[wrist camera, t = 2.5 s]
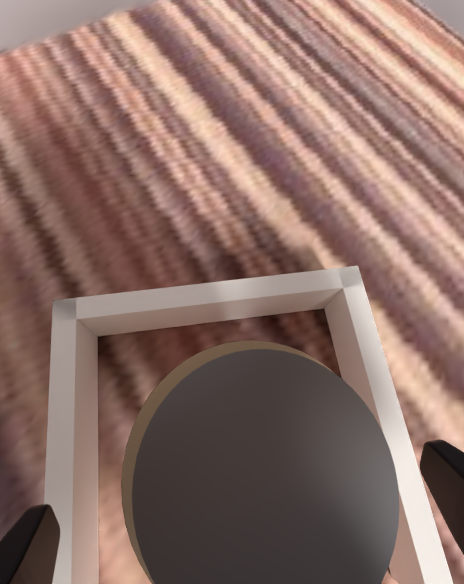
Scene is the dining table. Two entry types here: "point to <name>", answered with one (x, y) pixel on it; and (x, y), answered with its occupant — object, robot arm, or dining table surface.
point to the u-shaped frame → (204, 309)
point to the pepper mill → (259, 474)
